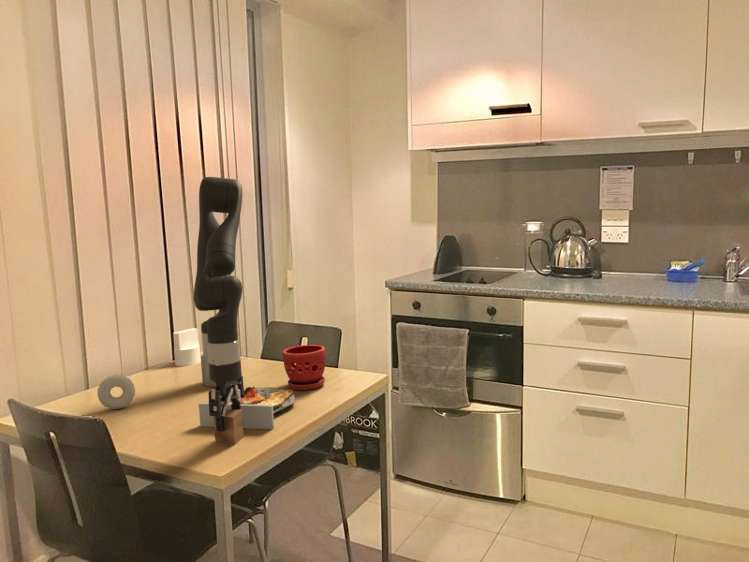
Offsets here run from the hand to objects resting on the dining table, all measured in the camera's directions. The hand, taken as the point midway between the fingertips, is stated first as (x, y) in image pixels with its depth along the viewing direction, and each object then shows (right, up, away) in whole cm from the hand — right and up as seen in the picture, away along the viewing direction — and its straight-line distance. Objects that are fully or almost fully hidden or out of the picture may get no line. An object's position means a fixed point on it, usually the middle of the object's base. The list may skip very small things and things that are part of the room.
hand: (229, 424), depth 145 cm
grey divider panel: (0, -3, +9) cm, 10 cm away
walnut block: (0, -4, +1) cm, 4 cm away
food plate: (+1, -1, +24) cm, 24 cm away
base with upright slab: (-34, +4, +76) cm, 83 cm away
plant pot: (+14, +2, +42) cm, 45 cm away
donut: (-38, -2, +27) cm, 47 cm away
